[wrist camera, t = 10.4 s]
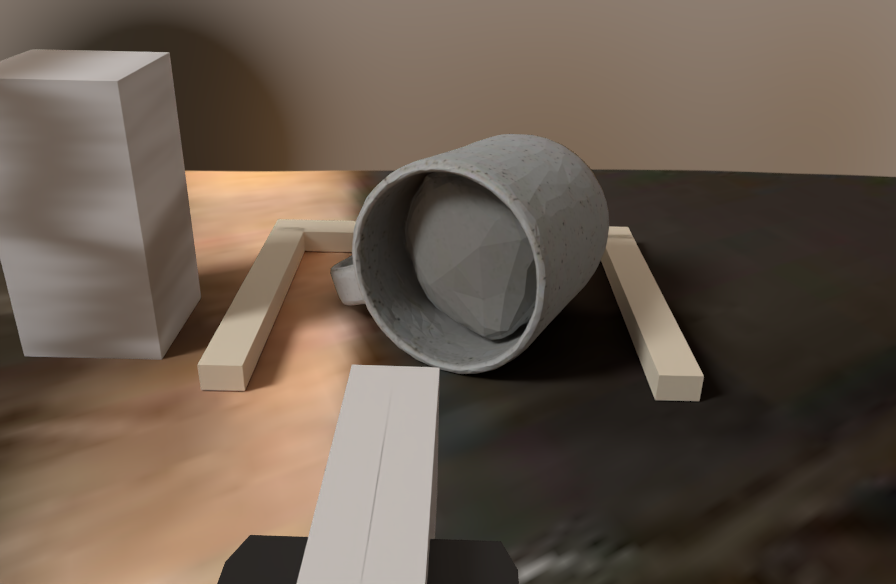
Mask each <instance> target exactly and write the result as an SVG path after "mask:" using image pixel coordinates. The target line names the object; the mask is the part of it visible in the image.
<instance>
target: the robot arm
mask: <svg viewBox="0 0 896 584" xmlns="http://www.w3.org/2000/svg"><path fill="white" fill-rule="evenodd" d="M438 419H439V368H438V367H406V366H374V365H352V367H351V371H350V375H349V378H348V382H347V386H346V390H345V394H344V398H343V402H342V406H341V410H340V414H339V418H338V422H337V426H336V430H335V434H334V438H333V442H332V446H331V450H330V454H329V457H328V461H327V465H326V469H325V473H324V477H323V481H322V485H321V489H320V493H319V497H318V501H317V505H316V509H315V513H314V517H313V521H312V525H311V529H310V533H309V536H308V537H292V536H263V535H250V536H249V537H248V538H247V539H246V540H245V541H244V542H243V543H242V544H241V546H240V547H239V548H238V549H237V550H236V551H235V552H234V553H233V554H232V555H231V556H230V557H229V559H228V560H227V561H226V562H225V564H224V567H223V570H222V572H221V575H220V578H219V581H218V583H217V584H519V581H518V569H517V568H516V566H515V564H514V563H513V561H512V559H511V558H510V556H509V554H508V552H507V551H506V549H505V547H504V546H503V544H502V542H501V541H474V540H445V539H435V521H436V503H437V471H438Z"/></svg>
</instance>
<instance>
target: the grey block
mask: <svg viewBox="0 0 896 584" xmlns="http://www.w3.org/2000/svg"><path fill="white" fill-rule="evenodd" d="M0 259H1V263H2V267H3V271H4V275H5V279H6V284H7V288H8V292H9V296H10V300H11V304H12V308H13V312H14V316H15V320H16V324H17V328H18V332H19V336H20V340H21V344H22V348H23V352H24V356H35V357H78V358H122V359H162V358H163V357H164V355H165V354H166V352H167V351H168V349H169V347H170V346H171V344H172V343H173V341H174V340H175V338H176V336H177V335H178V333H179V332H180V330H181V329H182V327H183V325H184V324H185V322H186V321H187V319H188V318H189V316H190V314H191V313H192V311H193V310H194V308H195V307H196V305H197V303H198V302H199V300H200V299H201V292H200V285H199V277H198V269H197V262H196V254H195V246H194V238H193V231H192V223H191V215H190V208H189V200H188V192H187V185H186V177H185V169H184V162H183V154H182V146H181V139H180V131H179V123H178V116H177V108H176V100H175V93H174V85H173V77H172V70H171V62H170V54H169V52H167V53H166V52H124V51H80V50H36V49H32V50H29V51H27V52H24V53H21V54H18V55H16V56H13V57H10V58H7V59H5V60H2V61H0Z"/></svg>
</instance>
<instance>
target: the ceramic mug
mask: <svg viewBox="0 0 896 584" xmlns="http://www.w3.org/2000/svg"><path fill="white" fill-rule="evenodd" d="M608 232H609V214H608V208H607V203H606V199H605V196H604V194H603V191H602V188H601V186H600V184H599V182H598V181H597V179H596V177H595V175H594V174H593V172H592V170H591V169H590V168H589V167H588V165H587V164H586V163H585V162H584V161H583V160H582V159H581V158H580V157H579V156H578V155H577V154H576V153H574V152H573V151H571V150H569V149H568V148H567V147H565V146H564V145H562V144H560V143H557V142H554V141H552V140H550V139H547V138H544V137H539V136H534V135H521V134H505V135H498V136H494V137H490V138H487V139H484V140H481V141H478V142H475V143H472V144H470V145H467V146H465V147H462V148H459V149H455V150H452V151H449V152H446V153H442V154H439V155H435V156H432V157H429V158H425V159H422V160H418V161H415V162H413V163H410V164H408V165H406V166H403V167H401V168H399V169H398V170H396V171H394V172H393V173H391V174H390V175H388V176H387V177H386V178H385V179H384V180H383V181H382V182H380V183H379V184H378V185H377V186H376V187H375V188H374V189H373V191H372V192H371V193H370V194H369V196H368V197H367V198H366V200H365V203H364V205H363V207H362V209H361V211H360V213H359V216H358V218H357V221H356V224H355V227H354V232H353V243H352V256H350V257H348V258H347V259H345V260H343V261H341V262H339V263H337V264H336V265H334V266H333V267H332V268H331V276H332V280H333V282H334V285H335V288H336V291H337V293H338V296H339V298H340V300H341V301H342V303H343V304H345V305H359V304H366V306H367V309H368V311H369V312H370V314H371V315H372V317H373V319H374V320H375V322H376V323H377V325H378V326H379V328H380V329H381V330H382V331H383V332H384V333H385V334H386V335H387V336H388V337H389V338H390V339H391V340H392V341H393V342H394V343H395V344H396V345H397V346H398V347H399V348H400V349H401V350H403V351H405V352H406V353H408V354H409V355H411V356H412V357H414V358H415V359H416V360H418V361H420V362H423V363H425V364H427V365H429V366H432V367H438V368H439V369H440V370H445V371H449V372H453V373H458V374H475V373H482V372H487V371H491V370H494V369H497V368H499V367H501V366H503V365H504V364H506V363H508V362H510V361H512V360H513V359H515V358H516V357H517V356H519V355H520V354H521V353H522V352H523V351H525V350H526V349H527V348H528V347H529V346H530V345H531V343H532V342H533V341H534V340H535V339H536V338H537V337H538V335H539V334H540V333H541V332H542V331H543V330H544V329H545V328H546V327H547V326H548V324H549V323H550V322H551V321H552V320H553V319H554V318H555V317H556V316H557V315H558V314H559V313H560V312H561V311H562V310H563V308H564V307H565V306H566V305H567V304H568V303H569V302H570V301H571V300H572V299H573V298H574V297H575V296H576V295H577V294H578V293H579V292H580V291H581V290H582V289H583V288H584V287H585V285H586V284H587V282H588V281H589V280H590V278H591V277H592V275H593V274H594V273H595V271H596V269H597V267H598V265H599V263H600V260H601V258H602V256H603V253H604V251H605V248H606V244H607V239H608Z"/></svg>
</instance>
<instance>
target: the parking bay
mask: <svg viewBox="0 0 896 584" xmlns="http://www.w3.org/2000/svg"><path fill="white" fill-rule="evenodd" d="M355 224H356V221H334V220H289V219H278V220H277V222H276V224H275V226H274V227H273V229H272V231H271V233H270V235H269V236H268V238H267V240H266V242H265V244H264V246H263V247H262V249H261V251H260V253H259V255H258V256H257V258H256V260H255V262H254V264H253V265H252V267H251V269H250V271H249V273H248V274H247V276H246V278H245V280H244V282H243V283H242V285H241V287H240V289H239V291H238V293H237V294H236V296H235V298H234V300H233V302H232V303H231V305H230V307H229V309H228V311H227V312H226V314H225V316H224V318H223V320H222V321H221V323H220V325H219V327H218V329H217V330H216V332H215V334H214V336H213V338H212V340H211V341H210V343H209V345H208V347H207V349H206V350H205V352H204V354H203V356H202V358H201V359H200V361H199V363H198V372H199V379H200V387H201V390H226V391H245V390H246V387H247V385H248V383H249V380H250V378H251V376H252V373H253V371H254V369H255V366H256V364H257V362H258V359H259V357H260V355H261V352H262V350H263V348H264V345H265V343H266V341H267V338H268V336H269V334H270V331H271V329H272V327H273V324H274V322H275V320H276V317H277V315H278V313H279V310H280V308H281V306H282V303H283V301H284V299H285V296H286V294H287V292H288V289H289V287H290V285H291V282H292V280H293V278H294V275H295V273H296V271H297V268H298V266H299V264H300V261H301V259H302V257H303V254H304V252H305V251H322V252H352V243H353V232H354V227H355ZM601 262H602V265H603V267H604V270H605V272H606V275H607V277H608V280H609V283H610V285H611V288H612V290H613V293H614V295H615V298H616V301H617V303H618V306H619V308H620V311H621V313H622V316H623V319H624V321H625V324H626V326H627V329H628V331H629V334H630V337H631V339H632V342H633V344H634V347H635V349H636V352H637V354H638V357H639V360H640V362H641V365H642V367H643V370H644V372H645V375H646V378H647V380H648V383H649V385H650V388H651V390H652V393H653V396H654V398H655V400H669V401H699V400H700V395H701V390H702V384H703V379H704V375H703V373H702V371H701V369H700V367H699V365H698V363H697V362H696V360H695V358H694V356H693V354H692V352H691V350H690V348H689V346H688V344H687V342H686V340H685V338H684V336H683V334H682V332H681V330H680V328H679V326H678V324H677V322H676V320H675V318H674V316H673V314H672V312H671V311H670V309H669V307H668V305H667V303H666V301H665V299H664V297H663V295H662V293H661V291H660V289H659V287H658V285H657V283H656V281H655V279H654V277H653V275H652V273H651V271H650V269H649V267H648V265H647V263H646V261H645V260H644V258H643V256H642V254H641V252H640V250H639V248H638V246H637V244H636V242H635V240H634V238H633V236H632V234H631V232H630V230H629V228H628V227H609V232H608V239H607V244H606V248H605V251H604V253H603V256H602V258H601Z"/></svg>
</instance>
